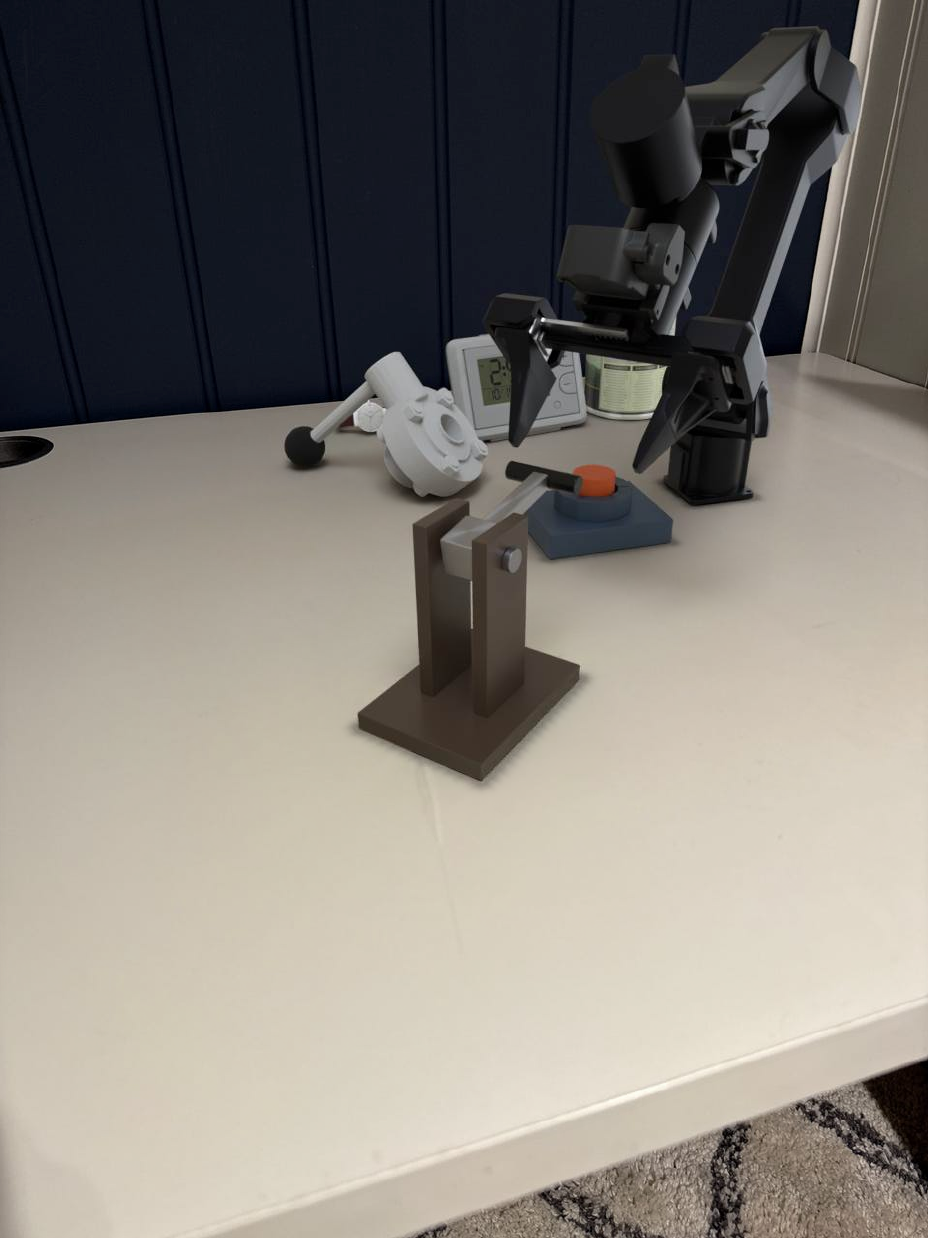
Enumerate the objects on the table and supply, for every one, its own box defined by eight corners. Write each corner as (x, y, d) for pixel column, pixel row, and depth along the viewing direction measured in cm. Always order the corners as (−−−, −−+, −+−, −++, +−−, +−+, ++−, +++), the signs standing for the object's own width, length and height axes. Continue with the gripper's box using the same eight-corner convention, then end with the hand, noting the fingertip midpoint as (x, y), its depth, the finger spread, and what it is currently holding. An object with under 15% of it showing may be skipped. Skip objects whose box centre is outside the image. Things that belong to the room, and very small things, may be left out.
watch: (338, 437, 101) (335, 405, 99) (333, 424, 105) (331, 393, 103) (406, 431, 102) (404, 399, 100) (398, 418, 106) (397, 388, 104)
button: (604, 481, 79) (605, 462, 78) (621, 496, 76) (622, 477, 75) (566, 485, 78) (567, 467, 78) (581, 501, 75) (582, 482, 75)
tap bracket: (466, 640, 64) (463, 470, 57) (579, 679, 59) (590, 500, 53) (358, 728, 55) (340, 540, 49) (481, 781, 51) (479, 583, 44)
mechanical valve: (457, 488, 80) (361, 346, 79) (336, 576, 91) (249, 452, 89) (505, 459, 88) (419, 330, 87) (389, 543, 99) (310, 429, 98)
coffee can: (564, 407, 109) (569, 285, 102) (618, 389, 115) (627, 273, 108) (632, 426, 102) (642, 298, 95) (685, 407, 108) (699, 284, 101)
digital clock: (456, 448, 97) (454, 349, 92) (439, 422, 105) (436, 329, 99) (597, 435, 100) (604, 338, 95) (571, 411, 108) (575, 319, 102)
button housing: (627, 502, 84) (630, 461, 82) (670, 542, 77) (675, 499, 75) (515, 516, 82) (516, 475, 80) (549, 559, 74) (551, 515, 72)
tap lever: (515, 481, 59) (513, 449, 58) (583, 497, 57) (582, 463, 55) (424, 567, 53) (418, 533, 51) (496, 589, 50) (493, 554, 49)
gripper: (497, 165, 59) (403, 371, 57) (779, 174, 50) (682, 420, 48) (550, 272, 69) (472, 452, 67) (796, 297, 60) (715, 506, 57)
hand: (572, 457), depth 59 cm, fingers open, 9 cm apart
